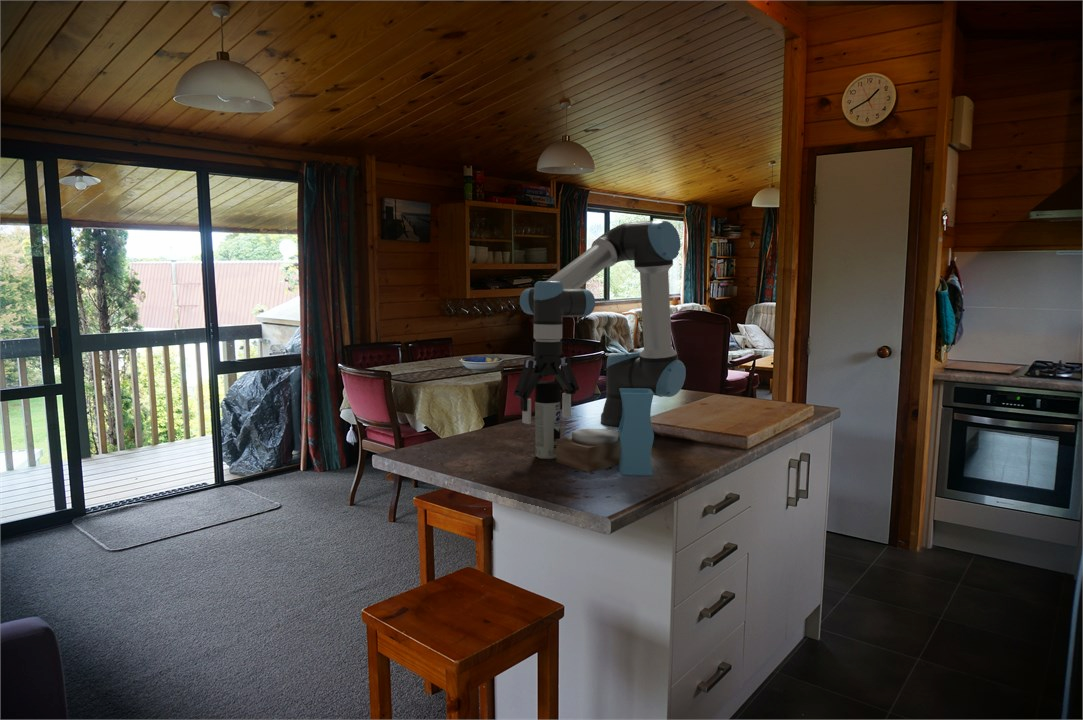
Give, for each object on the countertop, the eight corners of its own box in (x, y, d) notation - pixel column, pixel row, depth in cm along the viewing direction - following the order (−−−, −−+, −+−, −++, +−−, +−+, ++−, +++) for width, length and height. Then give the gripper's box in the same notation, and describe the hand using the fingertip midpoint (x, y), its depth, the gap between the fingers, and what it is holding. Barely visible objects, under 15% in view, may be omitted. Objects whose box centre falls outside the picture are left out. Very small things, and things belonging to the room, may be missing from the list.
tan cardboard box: (601, 452, 192) (601, 425, 191) (633, 461, 182) (633, 433, 181) (556, 462, 182) (556, 433, 181) (587, 472, 172) (588, 442, 172)
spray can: (557, 460, 184) (558, 384, 181) (532, 458, 185) (532, 383, 183) (562, 454, 190) (562, 380, 188) (537, 452, 191) (537, 380, 189)
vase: (617, 466, 178) (618, 388, 175) (649, 466, 177) (650, 388, 175) (620, 475, 170) (621, 393, 168) (653, 475, 170) (654, 393, 167)
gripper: (574, 337, 195) (572, 413, 197) (500, 341, 179) (500, 423, 181) (592, 339, 189) (591, 417, 191) (518, 343, 173) (517, 428, 176)
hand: (546, 420), depth 186 cm, fingers open, 13 cm apart
